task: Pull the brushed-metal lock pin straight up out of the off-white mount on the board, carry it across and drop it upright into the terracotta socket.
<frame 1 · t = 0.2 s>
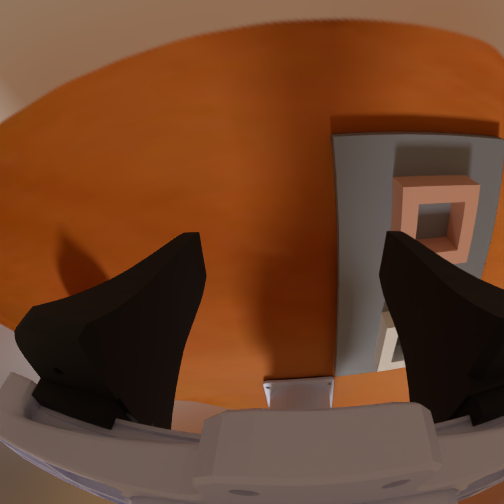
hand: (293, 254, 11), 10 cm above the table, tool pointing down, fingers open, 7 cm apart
pin mount: (410, 339, 24), on the board, point 1 cm above the table
board: (415, 274, 23), on the table
socket: (428, 216, 19), resting on board
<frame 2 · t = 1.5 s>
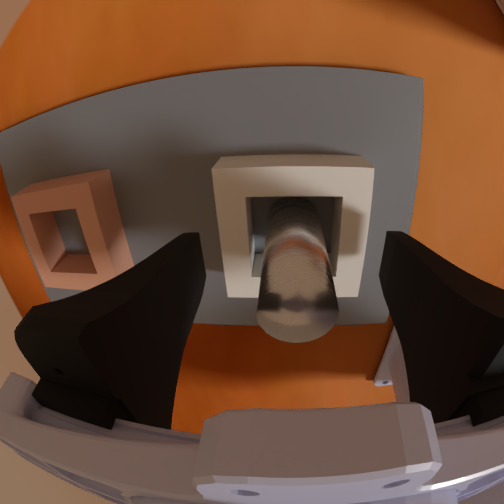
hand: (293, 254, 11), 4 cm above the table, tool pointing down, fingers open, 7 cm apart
pin mount: (293, 228, 13), on the board, point 1 cm above the table
board: (177, 213, 16), on the table
lock pin: (295, 255, 11), in the pin mount, point 4 cm above the table, touching board
socket: (79, 226, 15), resting on board
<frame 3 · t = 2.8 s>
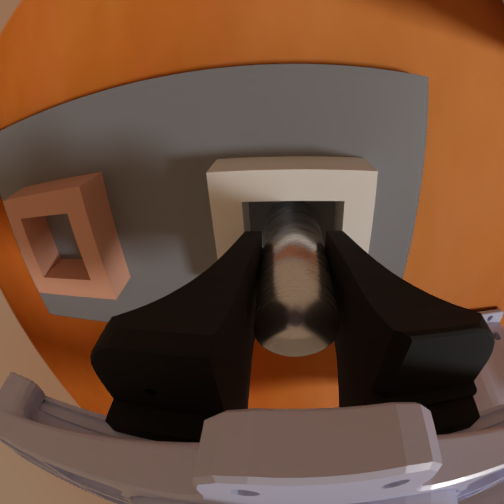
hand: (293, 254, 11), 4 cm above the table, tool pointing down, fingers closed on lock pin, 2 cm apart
pin mount: (292, 233, 13), on the board, point 1 cm above the table
board: (172, 217, 15), on the table
lock pin: (294, 263, 11), in the pin mount, point 4 cm above the table, touching board, gripper
socket: (72, 230, 15), resting on board
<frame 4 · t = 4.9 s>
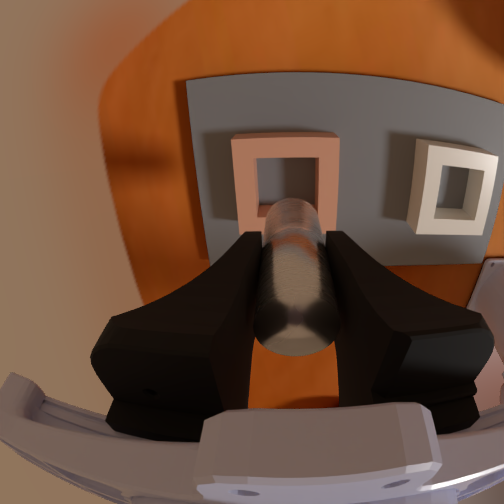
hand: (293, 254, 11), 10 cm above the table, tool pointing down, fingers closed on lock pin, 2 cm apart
pin mount: (453, 189, 17), on the board, point 1 cm above the table
board: (370, 175, 20), on the table
lock pin: (294, 262, 11), point 11 cm above the table, touching gripper
socket: (286, 178, 19), resting on board
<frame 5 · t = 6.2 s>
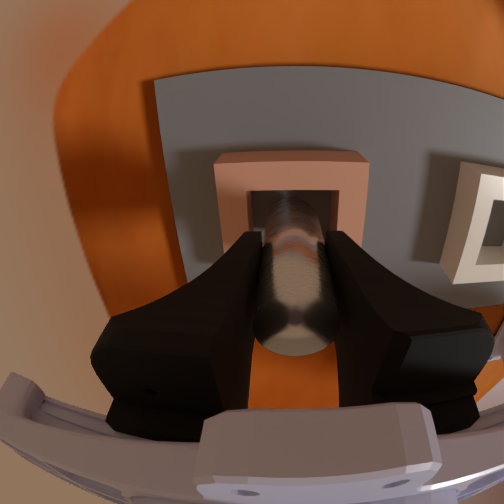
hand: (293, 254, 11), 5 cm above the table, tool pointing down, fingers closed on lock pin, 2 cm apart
pin mount: (498, 225, 12), on the board, point 1 cm above the table
board: (400, 206, 15), on the table
lock pin: (294, 262, 11), point 6 cm above the table, touching gripper
socket: (291, 212, 15), resting on board
when the fingers open (4 cm above the table, at t = 7.1 s): lock pin stays where it is, resting on board.
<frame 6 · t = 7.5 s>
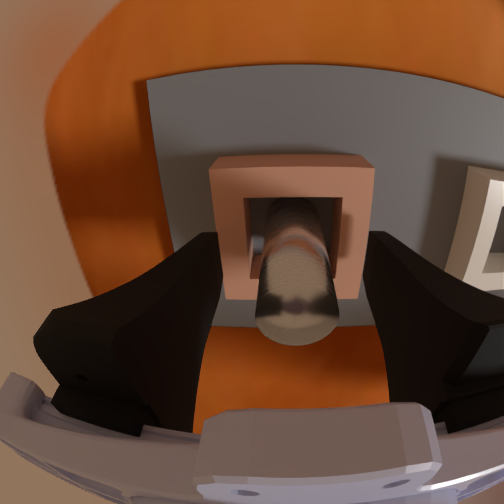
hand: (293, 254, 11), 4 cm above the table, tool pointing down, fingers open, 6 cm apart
board: (404, 212, 14), on the table
lock pin: (294, 256, 11), in the socket, point 4 cm above the table, touching board
socket: (291, 219, 14), resting on board
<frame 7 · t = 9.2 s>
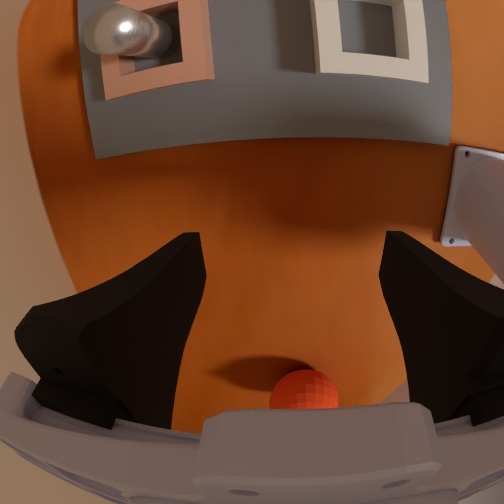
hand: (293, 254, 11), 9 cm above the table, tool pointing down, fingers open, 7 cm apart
pin mount: (369, 26, 12), on the board, point 1 cm above the table
board: (261, 29, 14), on the table
lock pin: (137, 34, 11), in the socket, point 4 cm above the table, touching board
socket: (160, 41, 14), resting on board
clementine: (298, 373, 30), on the table
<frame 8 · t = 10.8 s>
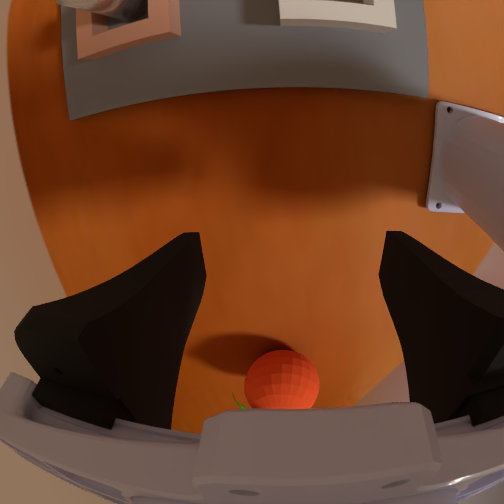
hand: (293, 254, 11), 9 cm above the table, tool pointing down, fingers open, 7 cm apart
socket: (132, 6, 13), resting on board
clementine: (277, 356, 29), on the table
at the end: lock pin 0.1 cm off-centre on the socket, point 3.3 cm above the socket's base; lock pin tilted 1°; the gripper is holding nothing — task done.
